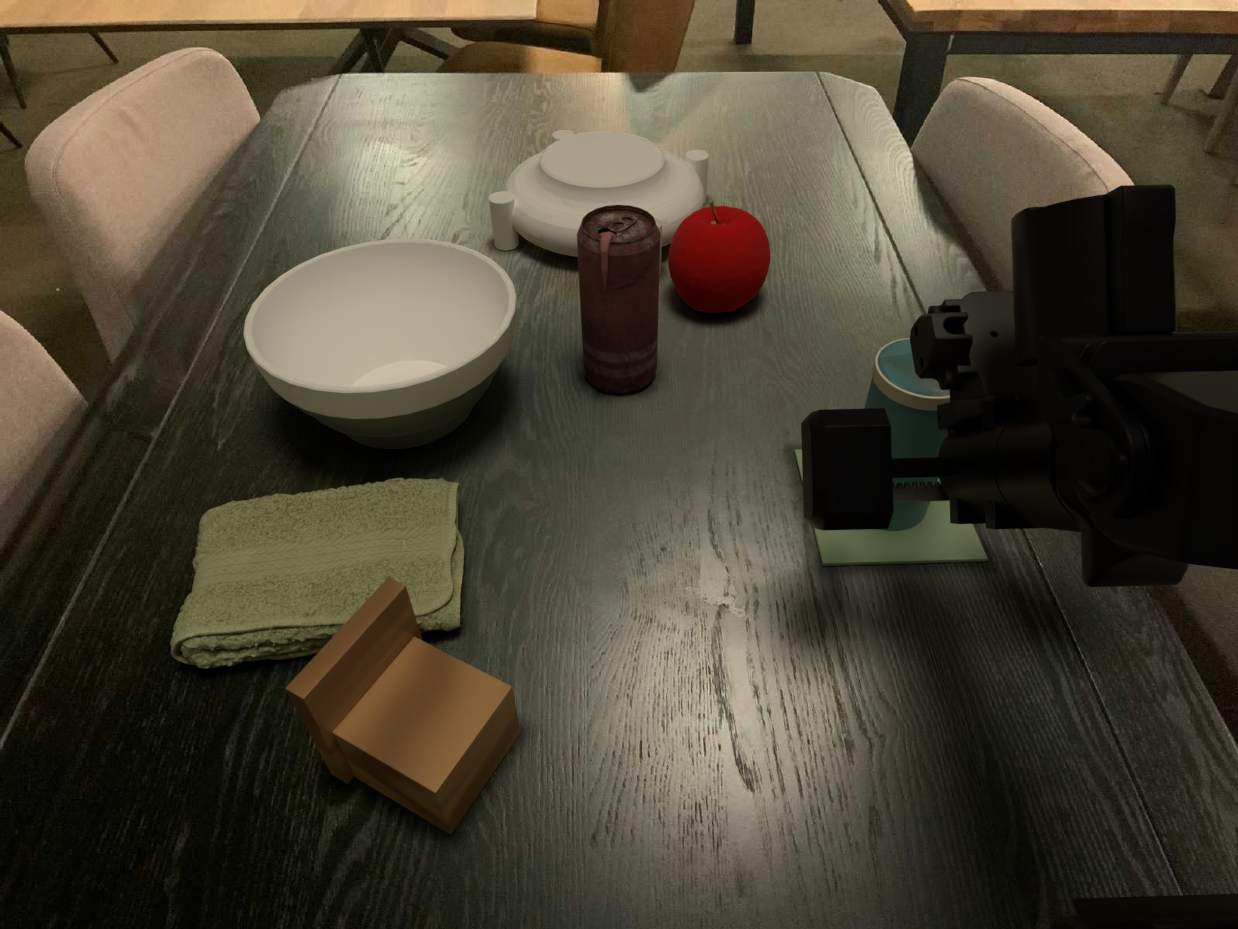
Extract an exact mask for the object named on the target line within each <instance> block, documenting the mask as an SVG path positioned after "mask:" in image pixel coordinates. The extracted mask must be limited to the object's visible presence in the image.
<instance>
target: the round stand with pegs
mask: <svg viewBox="0 0 1238 929" xmlns="http://www.w3.org/2000/svg"><path fill="white" fill-rule="evenodd" d="M551 137H552V138H551V139H552V143H551V144H549V145H548V146H547V147H546V148H544V150H542V151H540V152H538V153H536V154H533V155H531V156H530V157H528V158H527V159H524V161H522V162H521V163H520V164H519V165H517V166H516V167H515V169H513V171H512V172H511V173H510V174H509V176H508V178H507V179H506V181H505V184H504V187H503V190H501V191H495V192H492V193H491V194H490V195H489V196H488V205H489V212H490V219H491V229H492V235H493V244H494V247H495V249H497V250H499V251H512V250H514V249H516V248H517V247H519V246H520V238H519V235H520V236H521V237H523V238H524V240H526V241H528V242H530V243H531V244H533V245H534V246H537V247H540V248H542V249H544V250H546V251H549V252H553V253H556V254H559V255H564V256H570V257H574V258H578V249H577V232H578V230H579V227H580V225H581V222H582V219H583V217H584V216H585V215H586V214H588V213H589V212H591V211H593V210H595V209H597V208H600V207H604V206H610V205H630V206H634V207H638V208H641V209H643V210H645V211H648V212H649V213H650V214H651V215H652V216H653V217H654V219H655V222H656V225H657V226H658V229H659V231H660V267H659V276H660V275H661V274H662V250H663V249H662V248H663V247H665V246H668V245H671V242H672V239H673V236H674V234H675V232H676V230H677V228H678V227H679V225H680V224H681V222H682V221H683V220H684V219H685V218H686V217H688V216H689V215H690V214H692V213H693V212H695V211H697V210H699V209H702V208H704V207H703V206H704V204H706V202H707V194H708V193H707V192H708V177H709V162H710V160H709V159H710V154H709V152H707V151H705V150H702V149H691V150H688V151H687V152H685V154H684V158H681V157H680V156H678V155H677V154H675V153H673V152H671V151H669V150H667V149H664V148H662V147H660V146H659V145H657V143H655V142H653V141H652V140H650V139H649V138H646V137H643V136H641V135H637V134H634V133H629V132H622V131H618V130H617V131H616V130H615V131H614V130H592V131H585V132H579V133H575V132H574V131H572V130H570V129H558V130H555V131H554V132H552V134H551Z"/></svg>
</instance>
